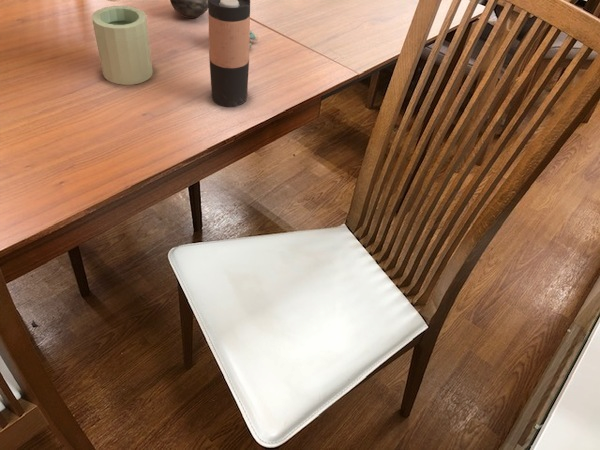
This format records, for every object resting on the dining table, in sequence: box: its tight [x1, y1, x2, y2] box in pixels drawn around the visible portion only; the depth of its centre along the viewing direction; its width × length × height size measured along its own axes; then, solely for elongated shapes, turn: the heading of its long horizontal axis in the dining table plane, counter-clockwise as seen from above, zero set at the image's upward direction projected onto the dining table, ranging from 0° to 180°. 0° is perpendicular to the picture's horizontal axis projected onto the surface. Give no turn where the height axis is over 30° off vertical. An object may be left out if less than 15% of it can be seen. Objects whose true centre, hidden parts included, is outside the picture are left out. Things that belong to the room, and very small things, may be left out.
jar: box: [91, 5, 154, 86], centre depth 103 cm, size 10×10×12 cm
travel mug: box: [207, 0, 251, 108], centre depth 97 cm, size 8×8×20 cm
